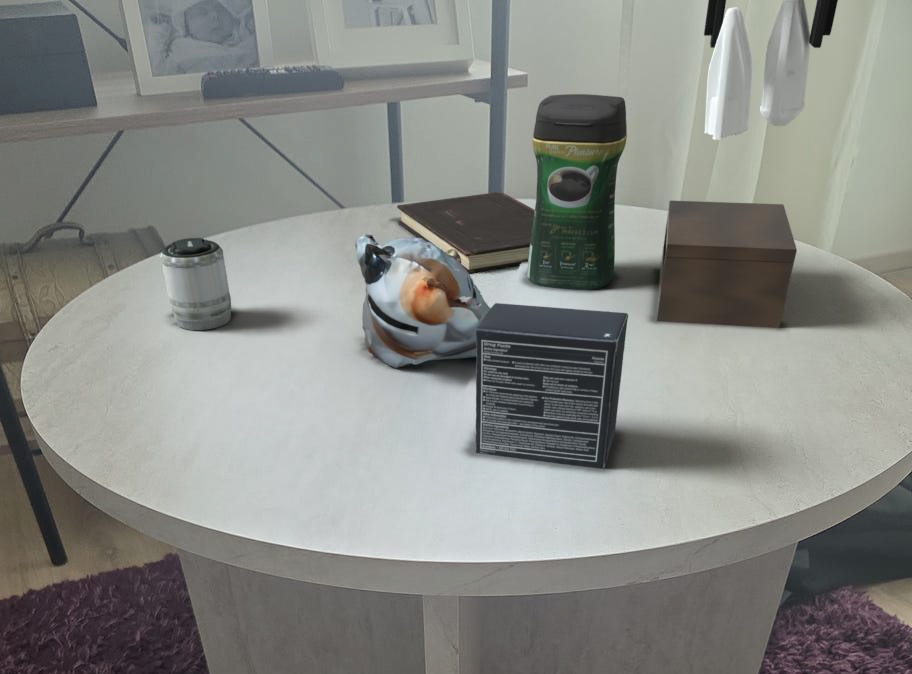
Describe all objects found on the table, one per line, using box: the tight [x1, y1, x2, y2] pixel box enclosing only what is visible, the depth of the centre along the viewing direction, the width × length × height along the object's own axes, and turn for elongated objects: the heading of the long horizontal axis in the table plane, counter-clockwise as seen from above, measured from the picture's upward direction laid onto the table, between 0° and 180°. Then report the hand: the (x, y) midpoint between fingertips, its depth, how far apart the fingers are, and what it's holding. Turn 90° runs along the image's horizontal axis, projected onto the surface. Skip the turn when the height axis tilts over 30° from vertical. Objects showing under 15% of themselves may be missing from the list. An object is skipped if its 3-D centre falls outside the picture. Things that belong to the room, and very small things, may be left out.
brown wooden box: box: [656, 200, 798, 329], centre depth 96 cm, size 12×16×8 cm
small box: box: [474, 302, 629, 470], centre depth 70 cm, size 11×6×10 cm, turn 73°
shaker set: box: [703, 0, 811, 141], centre depth 82 cm, size 12×4×11 cm, turn 118°
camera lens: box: [159, 237, 232, 331], centre depth 94 cm, size 6×6×8 cm
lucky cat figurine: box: [354, 233, 491, 369], centre depth 84 cm, size 15×12×14 cm
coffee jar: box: [527, 93, 628, 291], centre depth 98 cm, size 10×8×19 cm
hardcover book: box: [396, 191, 535, 274], centre depth 117 cm, size 16×23×2 cm
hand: (764, 44), depth 82 cm, fingers closed on shaker set, 8 cm apart
